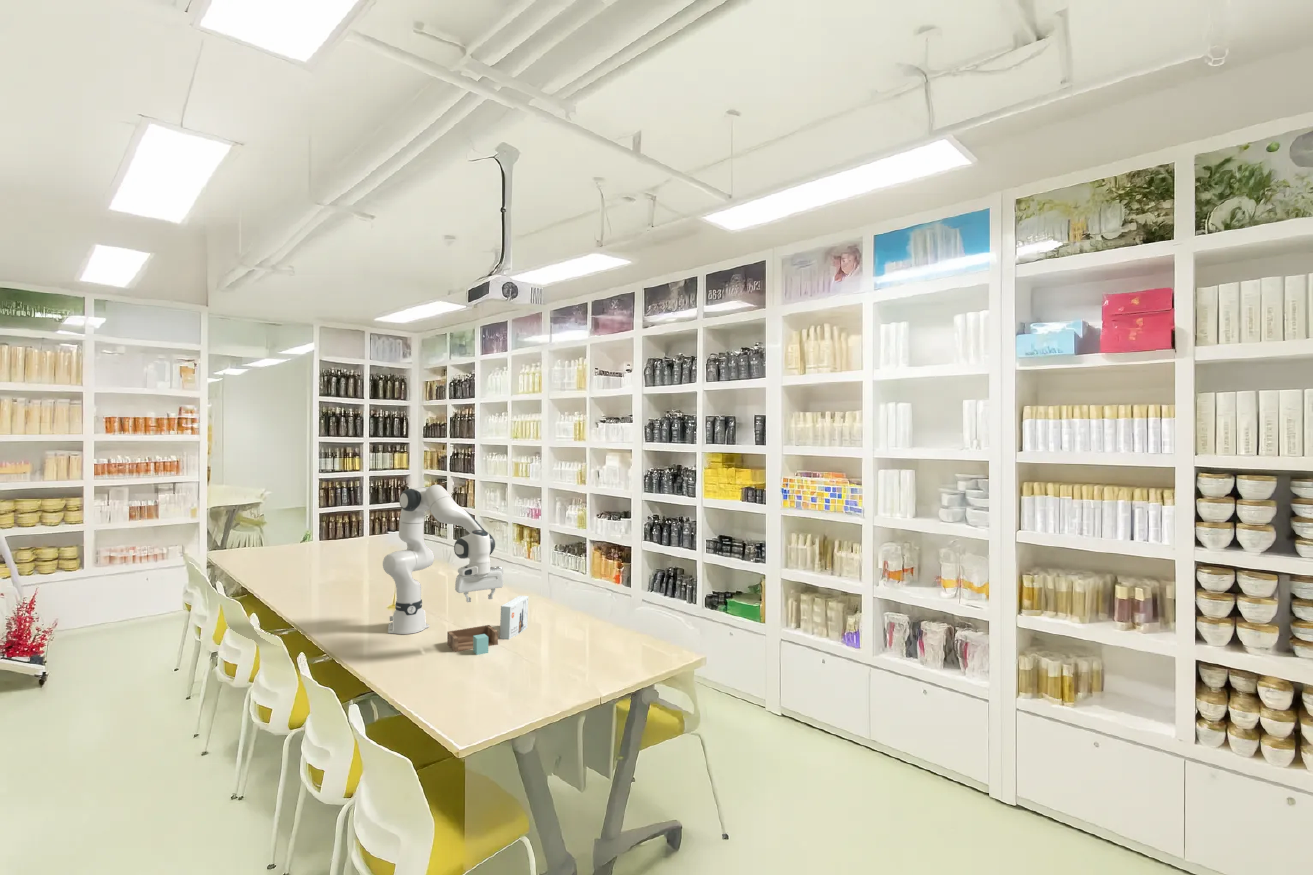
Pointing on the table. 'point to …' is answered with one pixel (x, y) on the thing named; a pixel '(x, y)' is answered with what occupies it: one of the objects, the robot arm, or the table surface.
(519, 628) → the skincare box
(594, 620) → the table surface
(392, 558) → the robot arm
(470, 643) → the open-fronted box
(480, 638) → the teal block
